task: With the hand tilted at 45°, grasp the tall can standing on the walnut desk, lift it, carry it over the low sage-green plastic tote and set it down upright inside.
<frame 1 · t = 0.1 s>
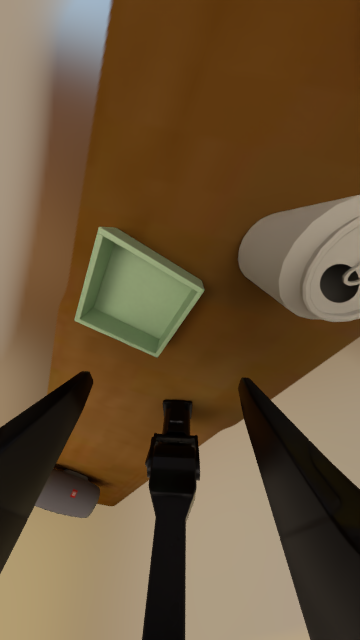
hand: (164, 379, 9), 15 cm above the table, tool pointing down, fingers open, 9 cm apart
tote: (142, 294, 22), on the table
can: (266, 250, 19), on the table
bluetooth speaker: (76, 473, 62), on the table
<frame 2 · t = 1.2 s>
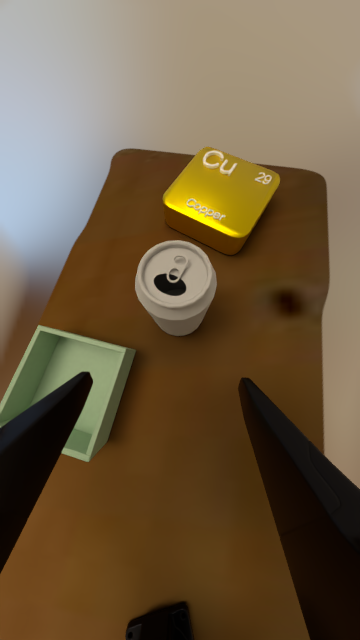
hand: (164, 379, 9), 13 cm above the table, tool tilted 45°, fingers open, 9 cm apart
tote: (82, 381, 22), on the table
can: (179, 313, 24), on the table
element tile: (216, 213, 29), on the table
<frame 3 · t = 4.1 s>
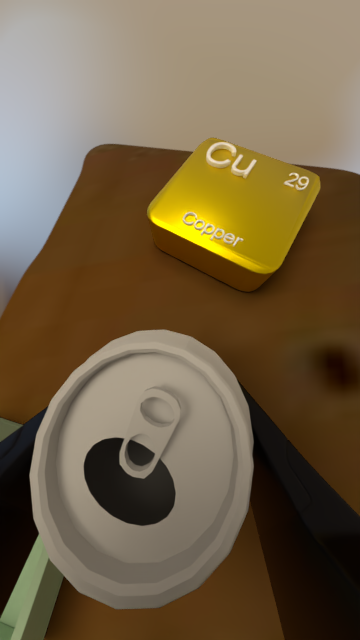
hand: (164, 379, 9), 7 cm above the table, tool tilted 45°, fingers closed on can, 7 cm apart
tote: (13, 509, 13), on the table
can: (172, 384, 16), on the table, touching gripper
element tile: (224, 229, 21), on the table
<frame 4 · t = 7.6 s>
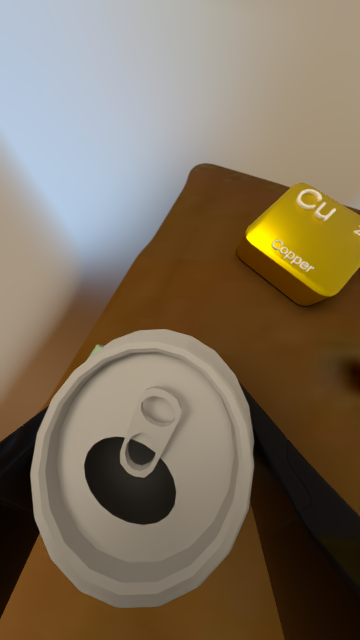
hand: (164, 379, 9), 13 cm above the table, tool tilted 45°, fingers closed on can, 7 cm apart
can: (172, 384, 16), point 6 cm above the table, touching gripper
element tile: (292, 253, 26), on the table
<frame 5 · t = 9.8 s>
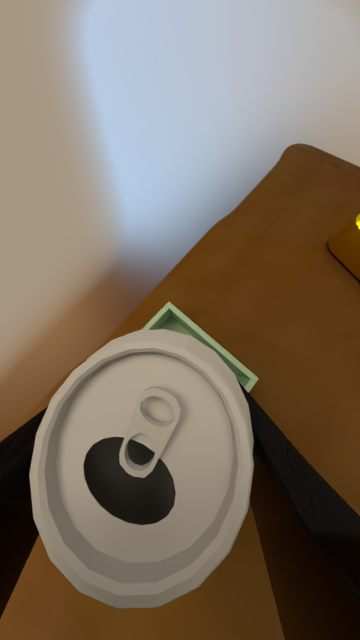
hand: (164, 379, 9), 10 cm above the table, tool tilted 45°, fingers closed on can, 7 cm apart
tote: (174, 378, 19), on the table
can: (172, 384, 16), point 3 cm above the table, touching gripper
when the fingers open (8 cm above the table, at t = 11.3 s): can stays where it is, resting on tote.
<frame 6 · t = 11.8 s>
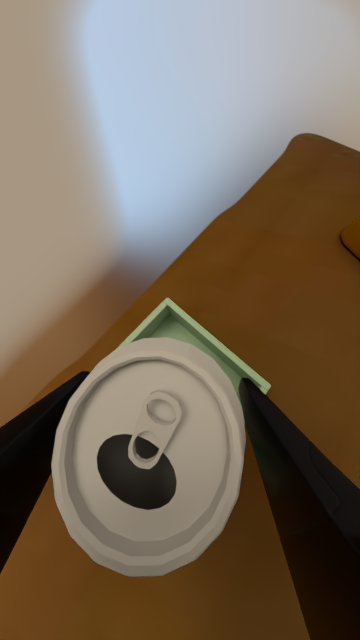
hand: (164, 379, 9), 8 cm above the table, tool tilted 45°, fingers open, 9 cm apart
tote: (173, 383, 17), on the table
can: (172, 385, 17), resting on tote
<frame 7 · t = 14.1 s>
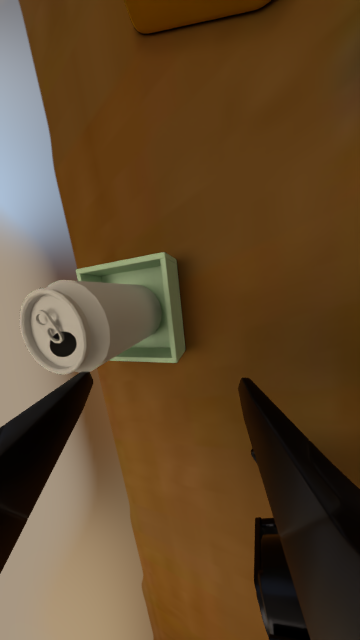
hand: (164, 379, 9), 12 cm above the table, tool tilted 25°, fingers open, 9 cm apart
tote: (141, 310, 22), on the table
can: (140, 311, 22), resting on tote
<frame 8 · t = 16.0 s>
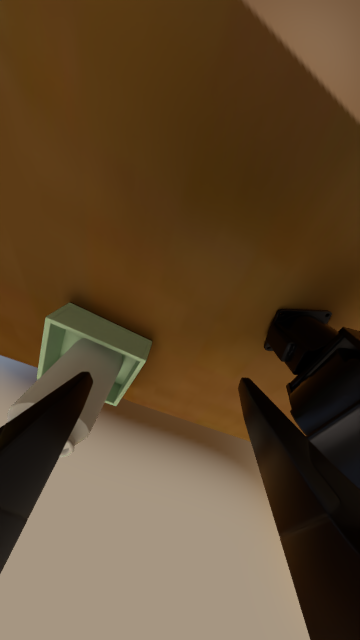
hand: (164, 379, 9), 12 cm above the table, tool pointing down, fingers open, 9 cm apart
tote: (101, 350, 24), on the table
can: (101, 352, 24), resting on tote
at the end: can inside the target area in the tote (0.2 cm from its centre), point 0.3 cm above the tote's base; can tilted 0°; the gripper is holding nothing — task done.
